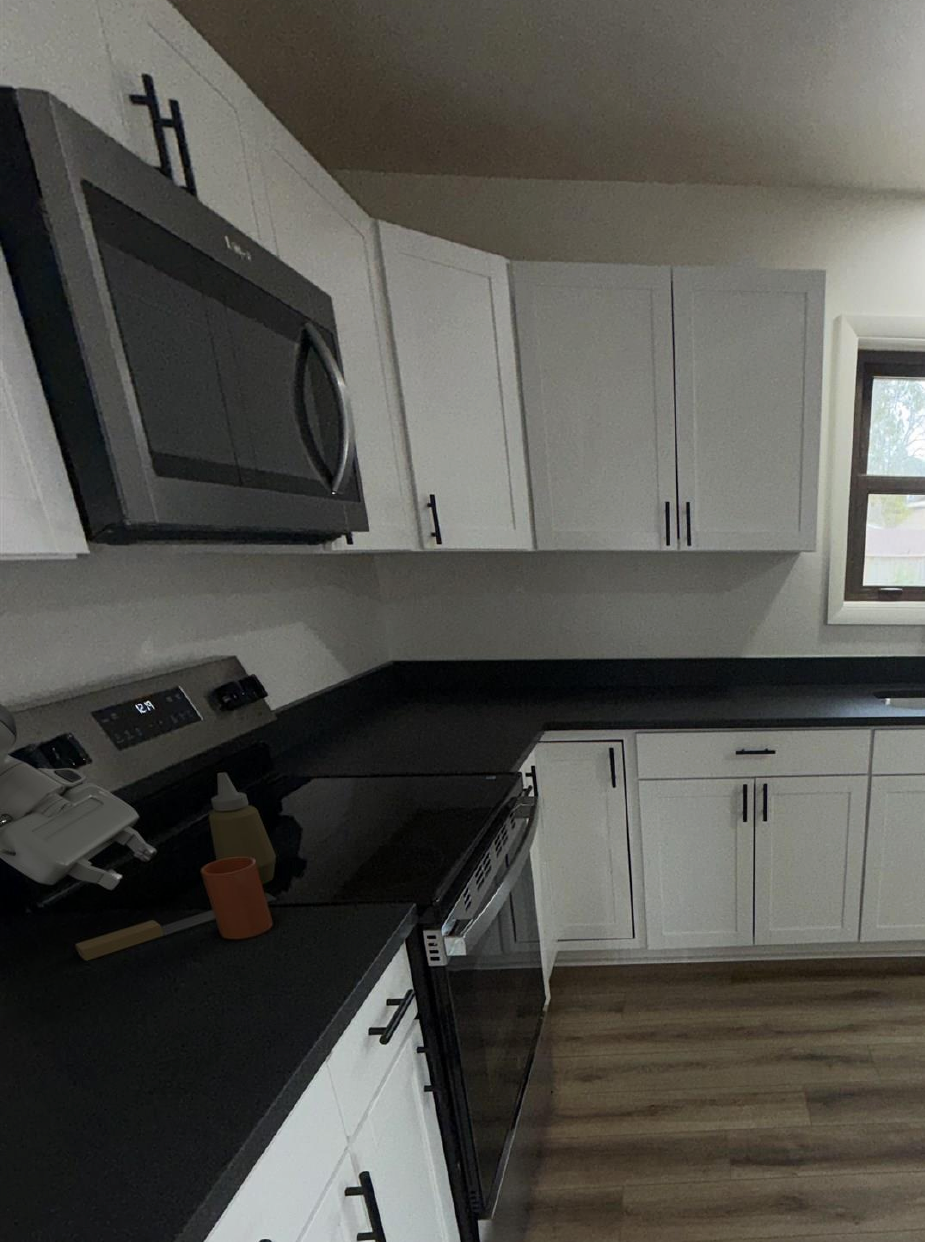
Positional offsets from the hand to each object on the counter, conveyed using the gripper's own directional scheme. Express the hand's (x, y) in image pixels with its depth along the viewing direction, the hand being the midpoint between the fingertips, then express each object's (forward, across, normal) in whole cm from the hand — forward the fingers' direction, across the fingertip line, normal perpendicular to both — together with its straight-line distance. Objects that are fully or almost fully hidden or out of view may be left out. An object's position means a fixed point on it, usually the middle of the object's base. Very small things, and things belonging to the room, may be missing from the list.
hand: (135, 870), depth 106 cm
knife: (+9, +3, +6) cm, 11 cm away
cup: (+15, 0, -1) cm, 15 cm away
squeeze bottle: (+12, +18, +3) cm, 22 cm away
